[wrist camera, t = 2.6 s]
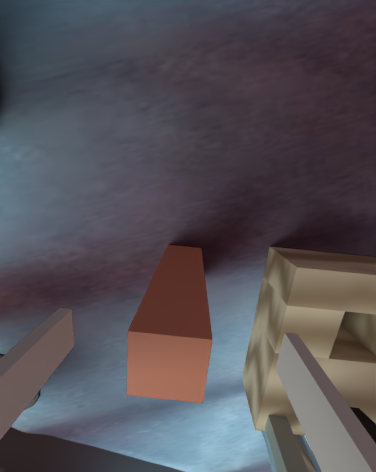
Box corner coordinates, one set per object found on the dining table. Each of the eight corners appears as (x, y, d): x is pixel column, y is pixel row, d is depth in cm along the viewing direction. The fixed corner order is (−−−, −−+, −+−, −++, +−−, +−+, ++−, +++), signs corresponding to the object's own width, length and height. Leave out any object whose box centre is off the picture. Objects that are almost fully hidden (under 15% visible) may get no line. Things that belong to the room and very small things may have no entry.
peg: (168, 244, 22) (127, 331, 9) (201, 248, 22) (212, 339, 9) (166, 275, 23) (126, 395, 10) (197, 278, 23) (202, 403, 10)
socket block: (269, 246, 22) (296, 267, 16) (406, 259, 22) (483, 285, 16) (241, 377, 27) (255, 429, 21) (352, 389, 27) (397, 445, 21)
